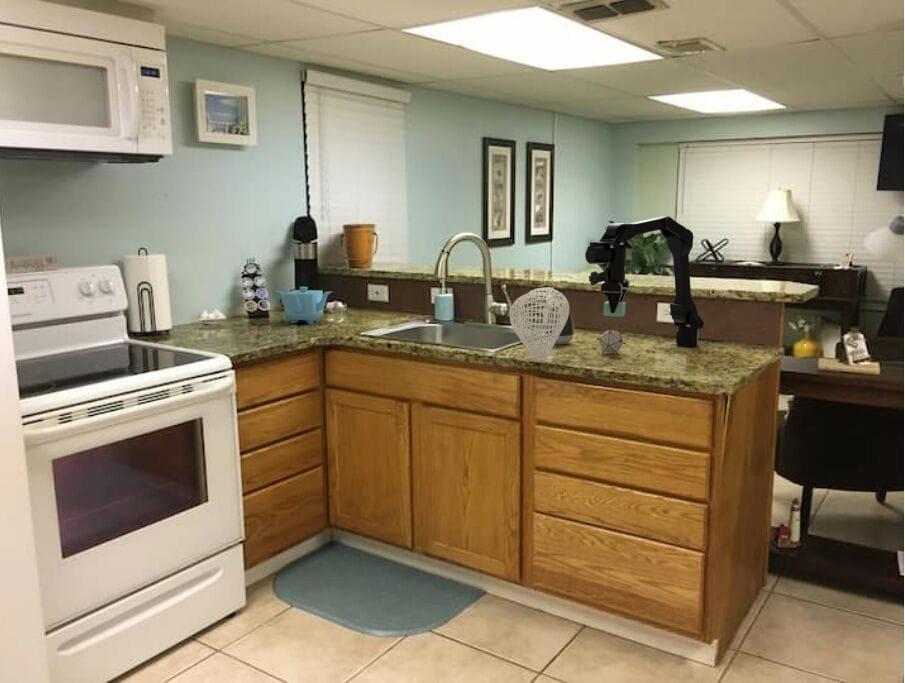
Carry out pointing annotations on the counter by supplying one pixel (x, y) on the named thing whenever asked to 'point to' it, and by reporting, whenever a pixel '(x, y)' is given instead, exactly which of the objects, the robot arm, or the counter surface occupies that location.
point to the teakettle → (303, 304)
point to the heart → (521, 325)
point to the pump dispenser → (567, 331)
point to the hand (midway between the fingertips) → (614, 311)
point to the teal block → (618, 312)
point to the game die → (611, 341)
